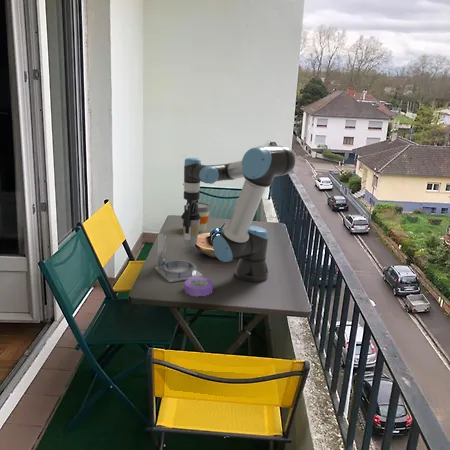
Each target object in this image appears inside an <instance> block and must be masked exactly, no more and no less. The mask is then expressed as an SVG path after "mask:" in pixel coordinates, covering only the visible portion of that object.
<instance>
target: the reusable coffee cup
mask: <svg viewBox="0 0 450 450" xmlns="http://www.w3.org/2000/svg"><path fill="white" fill-rule="evenodd" d="M210 211H211V207H210V204H209V203H205V202H201V201H200V202H199V201H198V213H199V215H200V216H201V219H200V222H199V223H200V225H199V232H198V233H200V232H201V233H202V232H205V231H206V230H207V226H208V225H207V224H208V222H209V217H210V214H209V213H210Z"/></svg>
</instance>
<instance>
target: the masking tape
mask: <svg viewBox="0 0 450 450" xmlns="http://www.w3.org/2000/svg"><path fill="white" fill-rule="evenodd" d="M213 284H214V283H213V281H212V280H211V279H209V278H206V277H203V276H202V277H195V278H190V279H187V280H184V292H185V293H186V294H187V295H188V294H189V296H192V297H195V296H196V298H199V297H198V296H204V297H207V296H206V295H208V296H210V295H211V294H212V293H213V288H214V287H213V286H214V285H213ZM210 293H211V294H210ZM209 294H210V295H209Z"/></svg>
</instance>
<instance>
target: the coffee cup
mask: <svg viewBox="0 0 450 450" xmlns="http://www.w3.org/2000/svg"><path fill="white" fill-rule="evenodd" d="M180 218H181V219H182V231H183V233H182V234H183V242H184V244H185V245H186V246H195V245H197V244H198V236H199V233H200V232H199V225H200V223H199V222H200V219H201V216H200V215H199V213H197V212H196V213H192V215H191V223H190V226H191V239H190V240H186V239H185V226H183V221H184V212H183V213H182V215H181V217H180Z"/></svg>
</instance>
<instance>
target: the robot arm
mask: <svg viewBox="0 0 450 450" xmlns="http://www.w3.org/2000/svg"><path fill="white" fill-rule="evenodd" d="M201 161H202V160H201V159H200V158H198V157H186V158H185V159H184V163H183V164H184V166H183V177H184V178H183V184H182V185H183V190H184V191H183V199H184V200H186V204H185V205H183V207H184V212H183V213H184V221H183V220H182V223H183V224H182V227H183V226H185V239H186V240H190V239H191V226H190V223H191V215H192V213H196V212H197V213H198V202H199V200H200V198H201V196H200V195H201V193H200V190H201V183H204V184H209V185H213V184H215V182H221V181H222V182H223V181H233V180H238V179H241V178H244V183H243V185H242V187H241V190H240V193H239V196H238V199H237V202H236V204H235V207H234V209H233V213H232V215H231V217H230V220H229V223H228V224H227V225H225V226H224V227H223V229H222V232H221V234H220V235H219V234H218V235H216V236H215V237H214V238H213V240H212V250H213V252H214V255H215V257H216V258H217V259H218V260H219V261H221V262H223V263H226V262H227V263H228V262H232V261H236V260H238V263H237V266H236V267H235V271H234V275H235V277H236V278H238V279H240V280H241V281H245V282H250V283H252V282H253V283H255V282H257V283H258V282H264V281H266V280H268V278H269V269H268V265H267V261H266V259H267V251H268V242H269V238H268V236H269V232H268V230H267V229H265V228H263V227H261V226H257V225H251V224H252V223H253V220H254V217H255V215H256V213H257V210H258V207H259V206H260V203H261V201H262V198H263V196H264V193H265V190H266V189H267V188H269V187H271V186H272V184H273V181H274V179H275V177H281V176H285V175H288V174H289V173H291V172H292V171H293V169H294V168H295V165H296V156H295V154H294V152H293V150H291V149H290V148H288V147H287V146H282V145H275V146H260V145H259V146H257V147H256V146H255V147H252V148H250V149H248V150H247V151H246V152H245V153H244V154H243V157H242V158H241V160H238V161H233V162H229V163H224V164H223V163H222V164H210V165H207V164H206V165H205V164H202V162H201Z"/></svg>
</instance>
